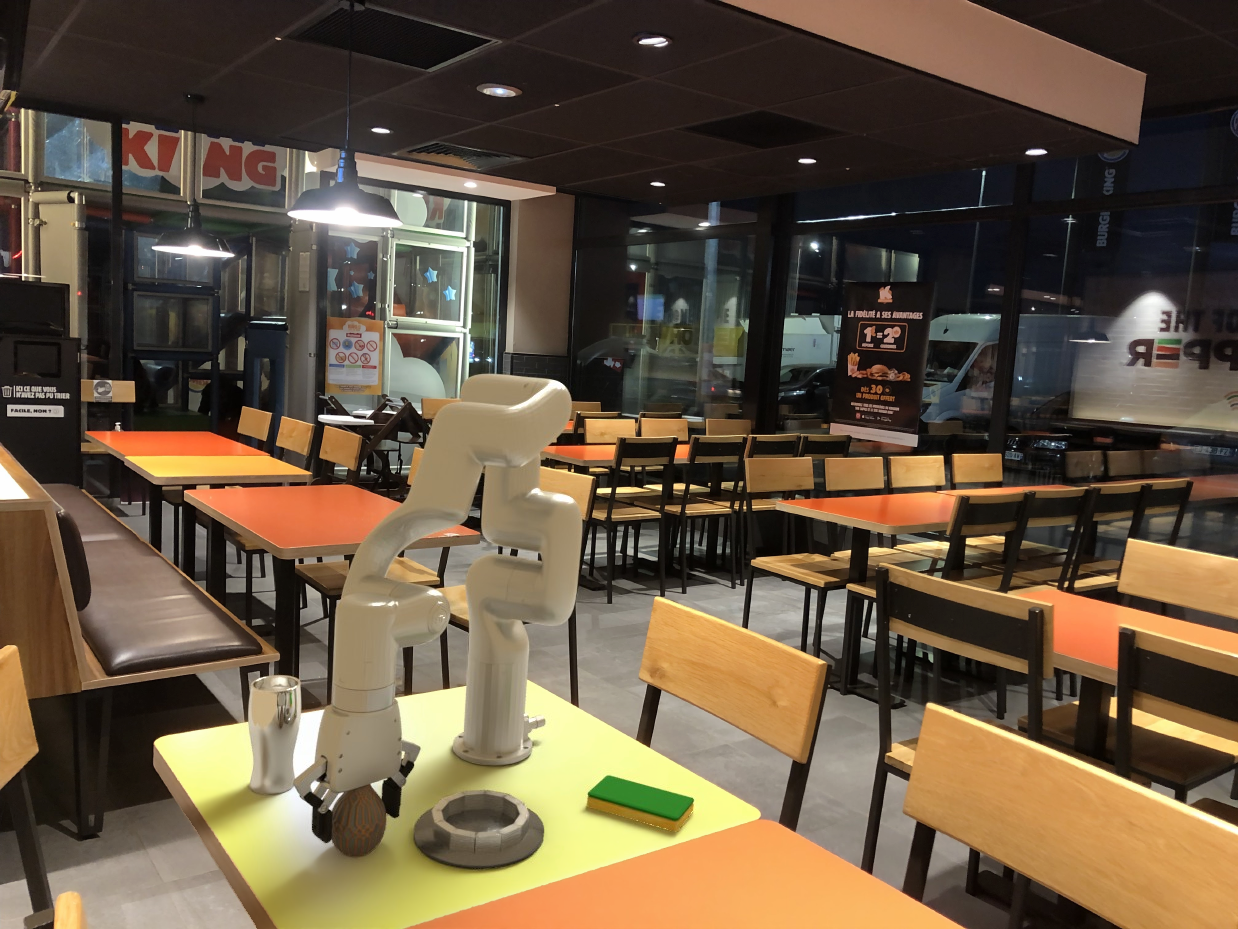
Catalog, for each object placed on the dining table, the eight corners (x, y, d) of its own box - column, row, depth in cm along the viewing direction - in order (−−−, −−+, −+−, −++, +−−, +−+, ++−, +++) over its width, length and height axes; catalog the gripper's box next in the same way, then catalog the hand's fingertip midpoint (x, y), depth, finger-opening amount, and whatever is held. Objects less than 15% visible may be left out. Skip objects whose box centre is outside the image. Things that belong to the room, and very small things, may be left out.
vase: (355, 870, 112) (357, 801, 111) (316, 850, 116) (318, 783, 114) (396, 846, 118) (399, 781, 117) (358, 828, 121) (361, 765, 120)
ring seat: (488, 791, 134) (489, 771, 134) (570, 838, 123) (571, 816, 123) (387, 829, 122) (388, 807, 121) (468, 885, 110) (470, 862, 110)
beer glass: (281, 800, 127) (284, 695, 126) (235, 791, 129) (238, 688, 127) (307, 778, 134) (311, 678, 132) (264, 770, 135) (267, 671, 134)
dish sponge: (606, 789, 139) (607, 774, 138) (693, 813, 133) (694, 797, 133) (585, 809, 132) (586, 792, 132) (676, 835, 127) (677, 818, 126)
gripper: (405, 672, 123) (398, 794, 125) (282, 700, 110) (277, 836, 112) (439, 688, 118) (431, 816, 120) (314, 720, 105) (308, 862, 107)
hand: (357, 825), depth 116 cm, fingers open, 9 cm apart
